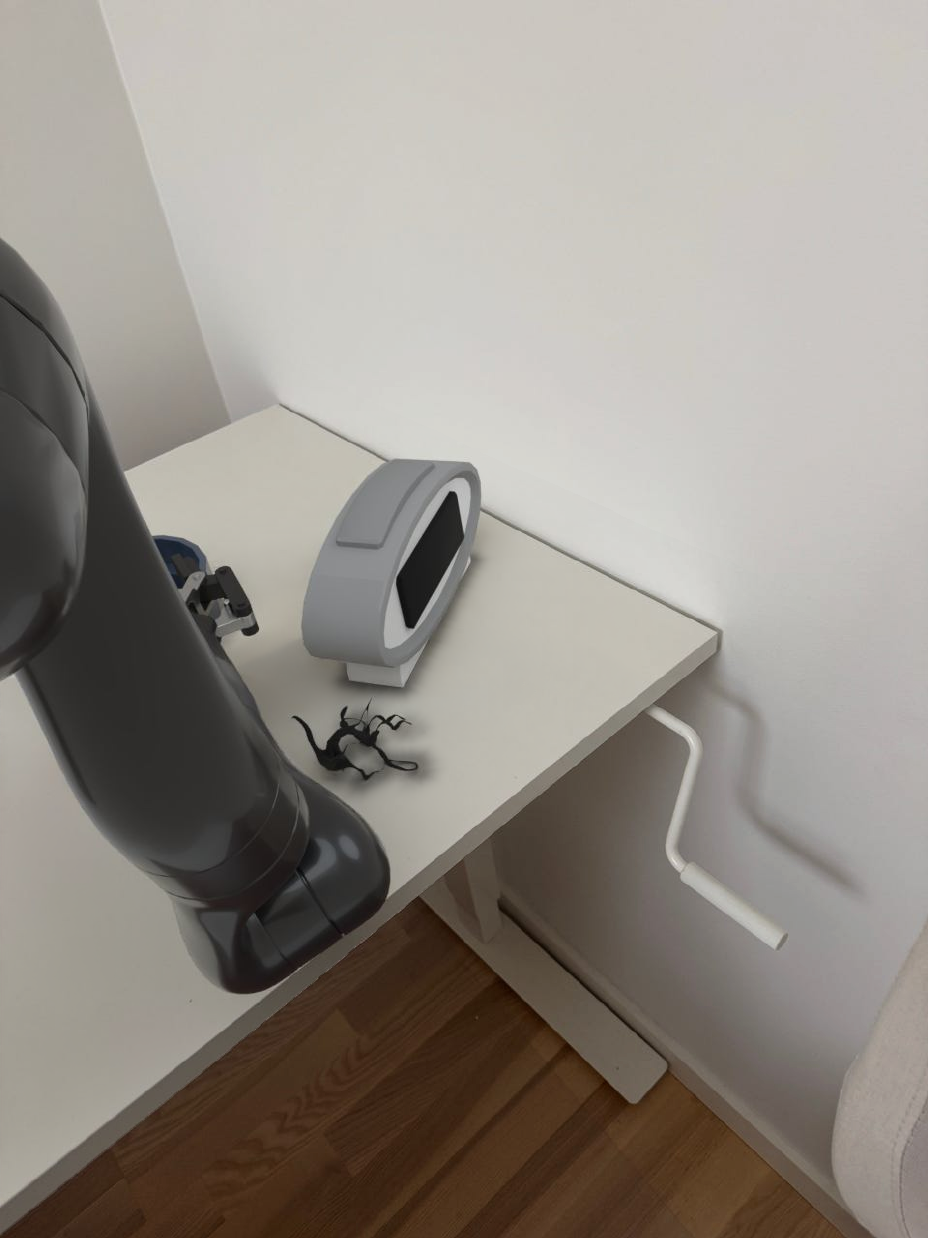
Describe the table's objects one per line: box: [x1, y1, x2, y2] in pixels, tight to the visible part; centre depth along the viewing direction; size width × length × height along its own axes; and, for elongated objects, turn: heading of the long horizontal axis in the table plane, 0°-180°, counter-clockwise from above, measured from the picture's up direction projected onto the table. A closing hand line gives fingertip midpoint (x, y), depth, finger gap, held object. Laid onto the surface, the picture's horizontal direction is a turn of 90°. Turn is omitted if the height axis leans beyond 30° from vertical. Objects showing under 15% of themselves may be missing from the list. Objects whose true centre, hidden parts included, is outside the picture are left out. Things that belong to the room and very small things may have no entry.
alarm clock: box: [300, 458, 482, 688], centre depth 76 cm, size 23×6×13 cm, turn 161°
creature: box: [290, 697, 419, 781], centre depth 67 cm, size 8×5×8 cm
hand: (123, 587), depth 71 cm, fingers open, 8 cm apart
